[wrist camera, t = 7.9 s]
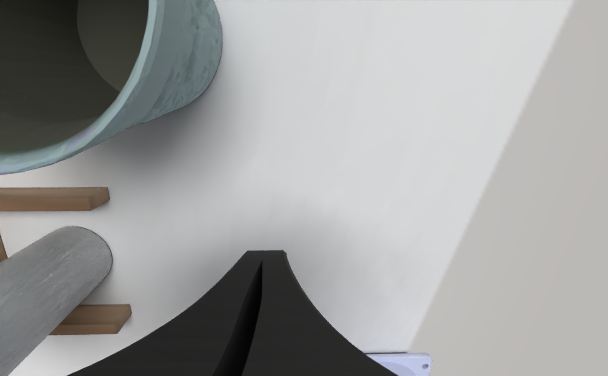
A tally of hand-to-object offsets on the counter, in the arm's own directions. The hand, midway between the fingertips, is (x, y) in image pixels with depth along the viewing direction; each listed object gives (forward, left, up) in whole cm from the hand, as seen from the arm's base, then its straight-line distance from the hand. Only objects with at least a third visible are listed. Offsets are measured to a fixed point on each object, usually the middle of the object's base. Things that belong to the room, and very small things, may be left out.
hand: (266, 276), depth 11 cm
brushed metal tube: (-5, +14, -11) cm, 18 cm away
